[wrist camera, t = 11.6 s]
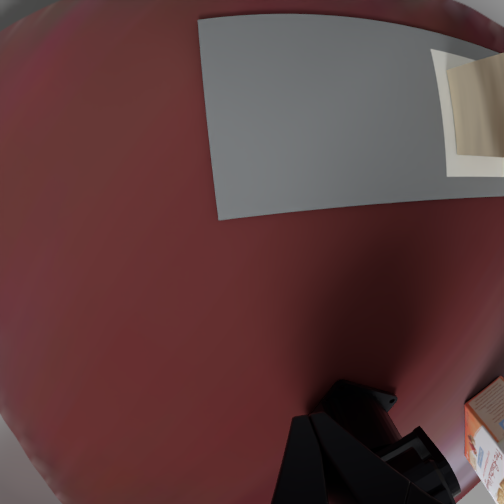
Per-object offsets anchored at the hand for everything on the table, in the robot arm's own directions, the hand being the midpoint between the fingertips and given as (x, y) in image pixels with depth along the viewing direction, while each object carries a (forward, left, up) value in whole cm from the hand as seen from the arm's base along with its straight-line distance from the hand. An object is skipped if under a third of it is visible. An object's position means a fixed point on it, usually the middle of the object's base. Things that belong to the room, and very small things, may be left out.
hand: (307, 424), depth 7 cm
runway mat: (-4, -14, -12) cm, 19 cm away
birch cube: (-9, -17, -6) cm, 20 cm away
